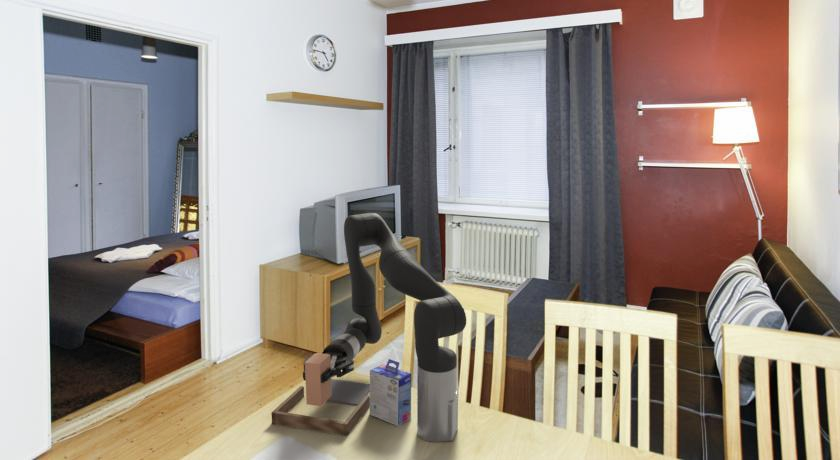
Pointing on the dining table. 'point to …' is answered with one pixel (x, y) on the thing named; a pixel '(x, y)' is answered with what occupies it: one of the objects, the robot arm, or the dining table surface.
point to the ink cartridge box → (390, 393)
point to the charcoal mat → (348, 391)
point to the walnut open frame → (315, 423)
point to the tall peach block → (317, 379)
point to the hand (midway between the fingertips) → (313, 378)
